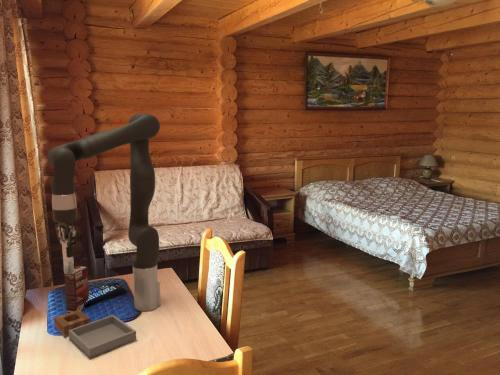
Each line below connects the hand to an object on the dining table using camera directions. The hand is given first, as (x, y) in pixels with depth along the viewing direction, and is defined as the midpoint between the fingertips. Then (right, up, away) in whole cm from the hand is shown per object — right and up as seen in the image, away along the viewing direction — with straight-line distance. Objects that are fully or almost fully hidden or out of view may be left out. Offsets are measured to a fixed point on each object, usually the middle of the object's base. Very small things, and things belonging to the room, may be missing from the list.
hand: (68, 255), depth 145 cm
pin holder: (0, -27, +5) cm, 27 cm away
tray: (+13, -28, -3) cm, 31 cm away
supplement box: (-5, -24, +20) cm, 32 cm away
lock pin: (0, -6, +1) cm, 6 cm away
